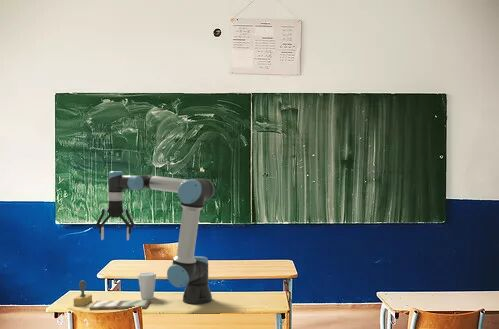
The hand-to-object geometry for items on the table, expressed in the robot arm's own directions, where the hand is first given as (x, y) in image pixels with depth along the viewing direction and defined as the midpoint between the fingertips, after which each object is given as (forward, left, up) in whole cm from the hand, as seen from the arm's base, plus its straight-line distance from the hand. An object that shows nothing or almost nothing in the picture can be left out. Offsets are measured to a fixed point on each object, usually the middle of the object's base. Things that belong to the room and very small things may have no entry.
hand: (115, 239), depth 296 cm
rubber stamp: (+11, +14, -32) cm, 36 cm away
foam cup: (-16, -5, -32) cm, 36 cm away
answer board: (-11, +13, -31) cm, 36 cm away
